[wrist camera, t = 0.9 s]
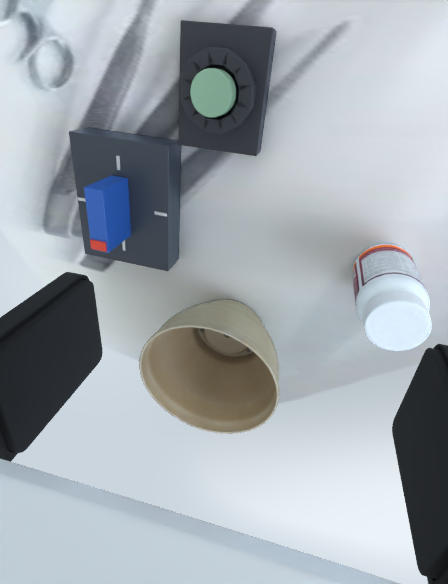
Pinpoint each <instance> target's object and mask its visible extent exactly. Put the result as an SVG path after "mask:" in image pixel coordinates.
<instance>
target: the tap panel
mask: <svg viewBox="0 0 448 584" xmlns="http://www.w3.org/2000/svg"><path fill="white" fill-rule="evenodd" d="M69 136H70V144H71V151H72V159H73V166H74V174H75V181H76V189H77V196H78V203H79V211H80V218H81V226H82V233H83V241H84V248H85V254H90V255H94V256H99V257H104V258H109V259H113V260H118V261H123V262H127V263H132V264H137V265H142V266H146V267H151V268H156V269H160V270H165V271H169V269H170V268H171V267H172V266H173V265H174V264H175V262H176V261H177V260H178V259H179V217H180V170H181V145H179V141H178V140H171V139H164V138H157V137H150V136H143V135H136V134H129V133H123V132H116V131H109V130H102V129H95V128H84V129H79V130H74V131H69ZM111 175H112V176H118V177H124V178H128V188H129V205H130V223H131V236H130V237H128V238H127V239H126V240H124V241H123V242H122V243H120V244H119V245H118V246H117V247H115V248H114V249H113V250H111V251H110V252H109V253H107V252H102V251H98V250H93V249H91V244H90V233H89V225H88V217H87V209H86V201H85V192H84V187H86V186H88V185H90V184H93V183H95V182H97V181H100V180H102V179H104V178H106V177H109V176H111Z"/></svg>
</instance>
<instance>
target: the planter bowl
mask: <svg viewBox="0 0 448 584" xmlns="http://www.w3.org/2000/svg"><path fill="white" fill-rule="evenodd" d="M225 335H227V336H229V337H227V336H225ZM139 368H140V374H141V378H142V381H143V383H144V385H145V387H146V389H147V390H148V392H149V393H150V395H151V396H152V397H153V399H154V400H155V401H156V402H157V403H158V404H159V405H160V406H161V407H162V408H163V409H165V410H166V411H167V412H168V413H170V414H171V415H172V416H174V417H176V418H177V419H179V420H180V421H182V422H184V423H186V424H188V425H191V426H193V427H196V428H198V429H202V430H206V431H209V432H215V433H228V434H232V433H241V432H245V431H250V430H253V429H255V428H257V427H259V426H261V425H263V424H264V423H265V422H266V421H267V420H269V419H270V417H271V416H272V415H273V413H274V411H275V409H276V407H277V404H278V399H279V364H278V358H277V353H276V350H275V347H274V344H273V342H272V339H271V337H270V335H269V334H268V332H267V330H266V329H265V327H264V326H263V324H262V322H261V320H260V319H259V317H258V316H257V315H256V313H255V312H254V311H253V310H251V309H250V308H249V307H247V306H246V305H244V304H242V303H239V302H236V301H233V300H224V299H223V300H215V301H212V302H208V303H202V304H198V305H195V306H192V307H189V308H187V309H185V310H183V311H181V312H179V313H178V314H176V315H175V316H173V317H172V318H171V319H169V320H168V321H167V322H166V323H165V324H164V325H163V326H162V327H161V328H160V329H159V330H158V331H157V332H156V333H155V334H154V335H153V336H152V337H151V338H150V339H149V340H148V341H147V343H146V344H145V345H144V347H143V349H142V351H141V355H140V360H139Z"/></svg>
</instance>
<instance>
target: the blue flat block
mask: <svg viewBox="0 0 448 584" xmlns="http://www.w3.org/2000/svg"><path fill="white" fill-rule="evenodd" d="M84 192H85V201H86V209H87V217H88V225H89V233H90V244H91V249H93V250H98V251H102V252H107V253H109V252H110V251H111V250H113V249H114V248H115V247H117V246H118V245H119V244H120V243H122V242H123V241H124V240H126V239H127V238H128V237H130V236H131V223H130V205H129V188H128V178H124V177H118V176H112V175H111V176H109V177H106V178H104V179H102V180H100V181H97V182H95V183H93V184H90V185H88V186H86V187H84Z"/></svg>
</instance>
